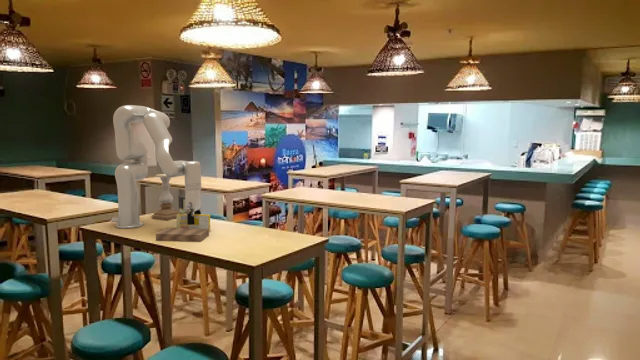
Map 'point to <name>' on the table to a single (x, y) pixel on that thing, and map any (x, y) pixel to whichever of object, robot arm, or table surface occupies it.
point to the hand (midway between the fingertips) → (194, 222)
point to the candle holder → (165, 201)
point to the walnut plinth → (182, 234)
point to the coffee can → (182, 204)
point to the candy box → (199, 221)
